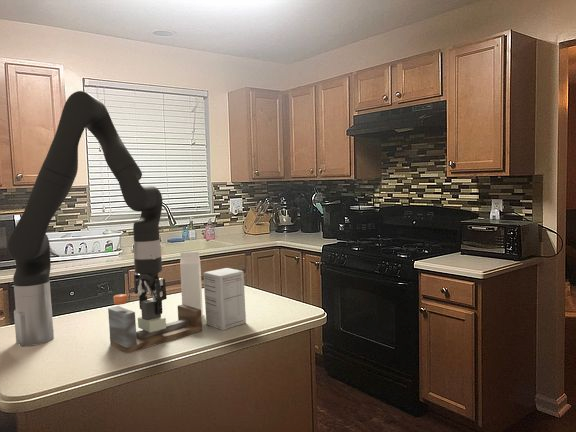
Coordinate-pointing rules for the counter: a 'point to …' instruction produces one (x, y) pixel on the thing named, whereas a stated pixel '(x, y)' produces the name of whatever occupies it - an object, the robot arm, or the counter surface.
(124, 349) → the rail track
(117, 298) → the button
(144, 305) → the carriage
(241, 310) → the supplement box
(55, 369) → the counter surface
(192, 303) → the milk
